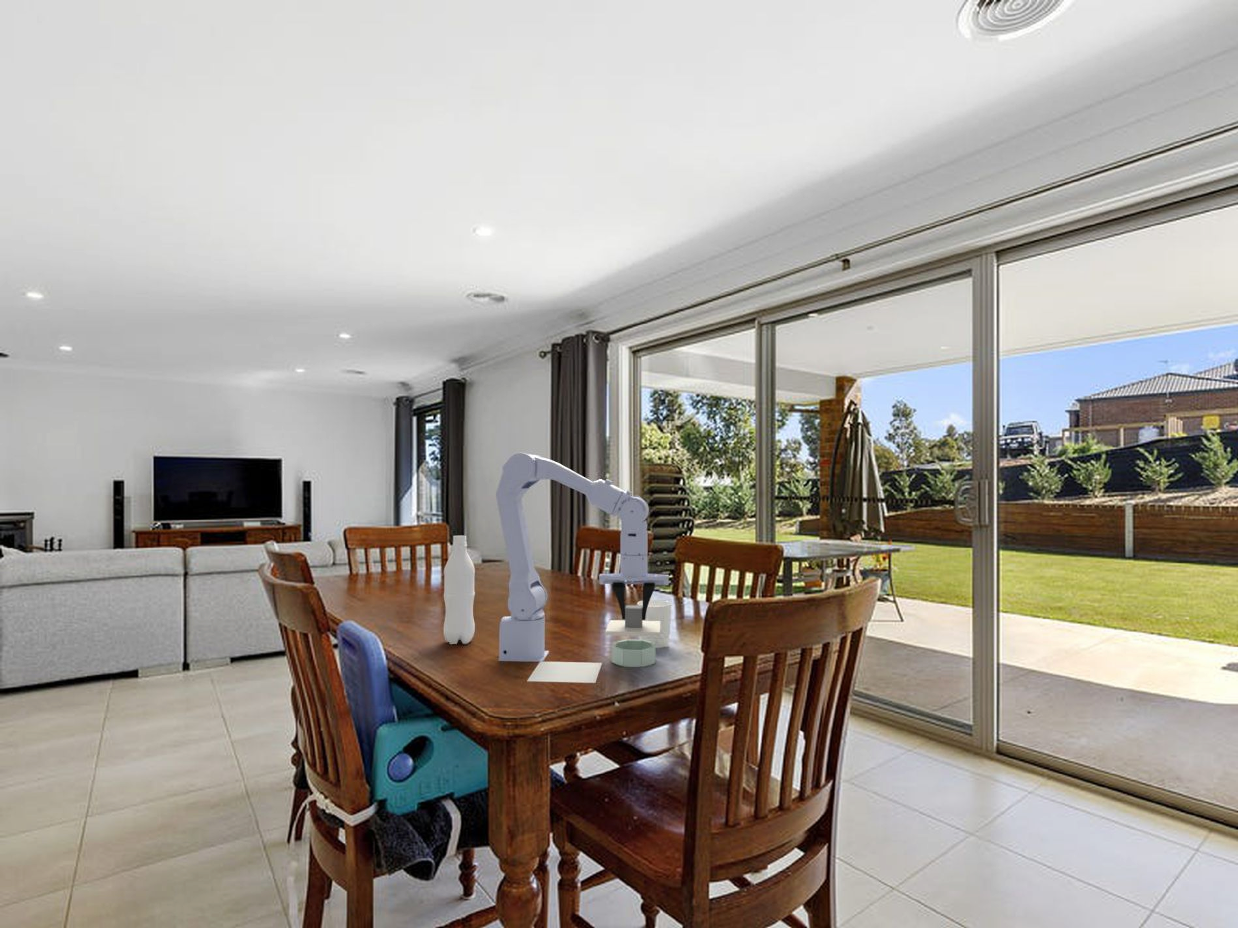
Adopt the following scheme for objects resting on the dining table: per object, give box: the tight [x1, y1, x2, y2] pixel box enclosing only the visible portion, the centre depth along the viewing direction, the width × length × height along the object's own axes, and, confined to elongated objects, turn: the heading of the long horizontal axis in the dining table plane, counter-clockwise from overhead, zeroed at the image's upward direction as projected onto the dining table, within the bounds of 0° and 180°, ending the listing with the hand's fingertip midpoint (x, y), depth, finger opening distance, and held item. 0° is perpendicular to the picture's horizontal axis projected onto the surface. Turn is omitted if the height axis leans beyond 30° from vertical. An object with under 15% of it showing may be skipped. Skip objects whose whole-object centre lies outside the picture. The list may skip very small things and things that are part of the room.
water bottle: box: [442, 535, 476, 645], centre depth 154 cm, size 7×7×25 cm
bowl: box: [611, 639, 656, 668], centre depth 137 cm, size 9×9×4 cm
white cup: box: [636, 599, 672, 649], centre depth 150 cm, size 8×8×10 cm
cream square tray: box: [526, 661, 603, 684], centre depth 129 cm, size 13×13×1 cm
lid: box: [604, 604, 660, 637], centre depth 137 cm, size 11×11×5 cm
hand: (633, 618), depth 137 cm, fingers closed on lid, 3 cm apart
